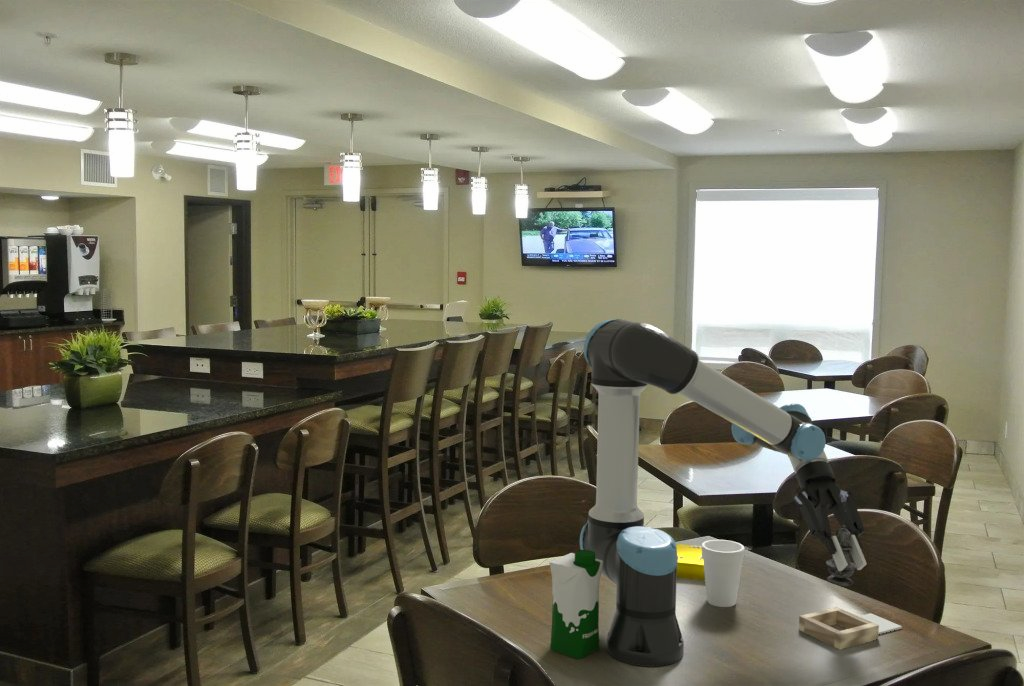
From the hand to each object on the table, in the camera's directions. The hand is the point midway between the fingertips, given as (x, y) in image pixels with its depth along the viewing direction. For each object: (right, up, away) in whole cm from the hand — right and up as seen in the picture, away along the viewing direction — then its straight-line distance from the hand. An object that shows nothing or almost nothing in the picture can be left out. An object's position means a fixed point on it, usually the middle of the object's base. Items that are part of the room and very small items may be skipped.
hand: (852, 567), depth 183 cm
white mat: (+8, -15, +10) cm, 20 cm away
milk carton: (-56, -16, -3) cm, 59 cm away
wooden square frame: (-1, -15, +5) cm, 16 cm away
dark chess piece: (-1, -4, +4) cm, 6 cm away
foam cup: (-21, -14, +23) cm, 34 cm away
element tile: (-22, -12, +44) cm, 50 cm away
